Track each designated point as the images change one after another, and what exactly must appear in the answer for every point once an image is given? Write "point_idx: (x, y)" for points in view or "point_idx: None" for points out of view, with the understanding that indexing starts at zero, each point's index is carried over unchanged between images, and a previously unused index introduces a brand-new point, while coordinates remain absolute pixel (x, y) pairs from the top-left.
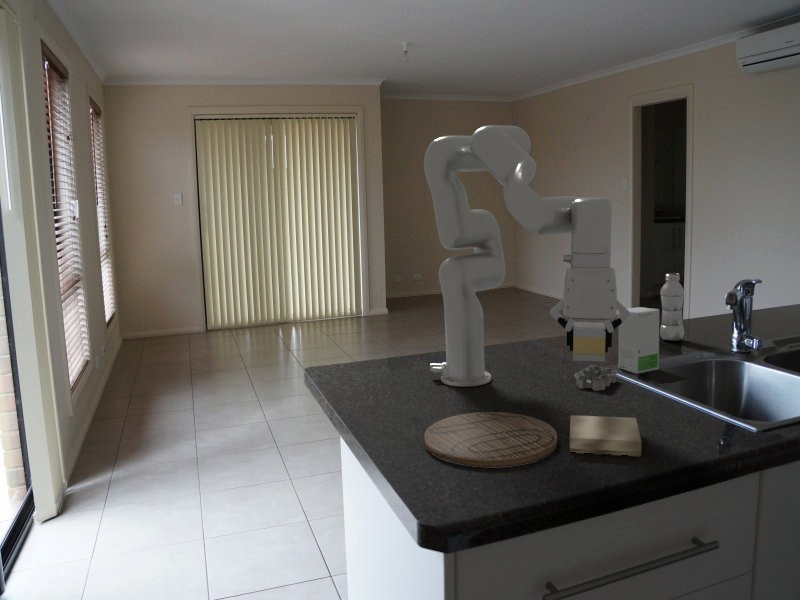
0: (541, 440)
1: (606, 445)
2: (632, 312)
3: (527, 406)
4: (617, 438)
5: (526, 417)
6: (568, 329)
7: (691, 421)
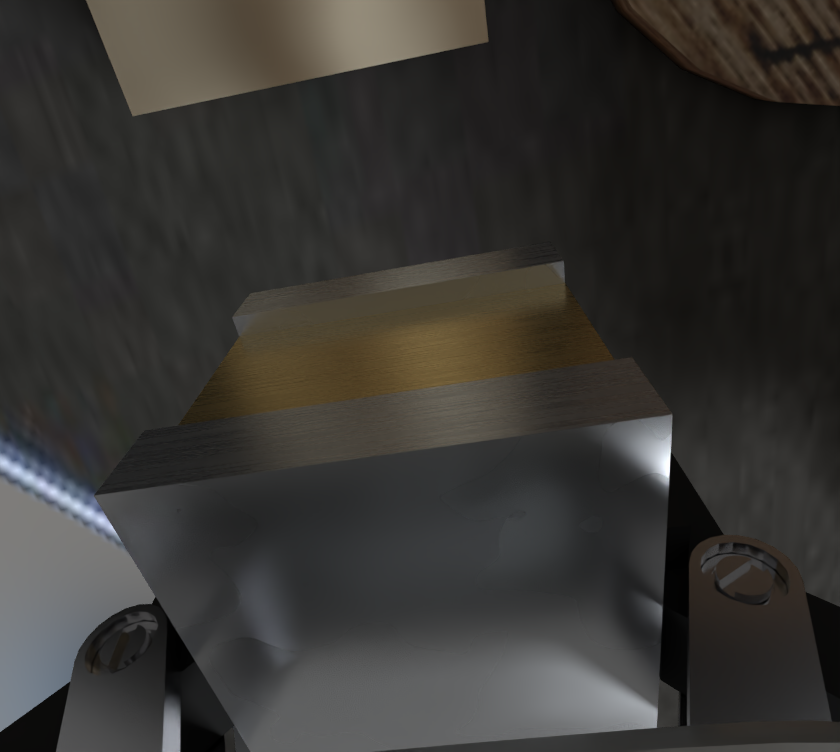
0: None
1: None
2: None
3: (709, 328)
4: None
5: (737, 54)
6: (731, 564)
7: (13, 338)
